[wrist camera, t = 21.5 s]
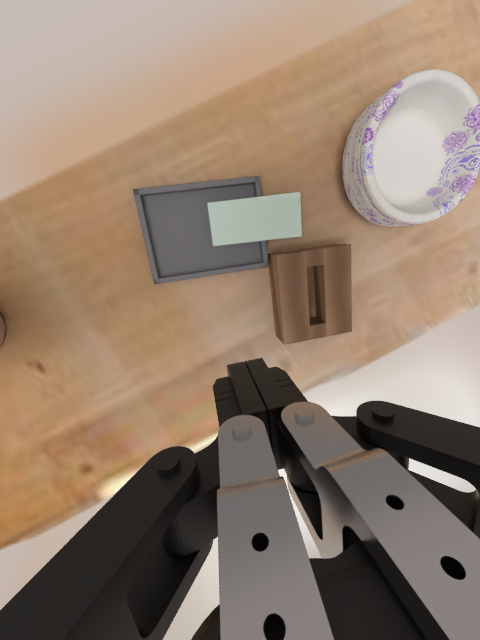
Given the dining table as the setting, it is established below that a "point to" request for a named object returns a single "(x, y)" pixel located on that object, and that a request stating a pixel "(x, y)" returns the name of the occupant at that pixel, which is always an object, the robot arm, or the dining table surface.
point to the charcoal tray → (194, 230)
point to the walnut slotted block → (311, 292)
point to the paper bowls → (414, 150)
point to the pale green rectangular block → (255, 219)
